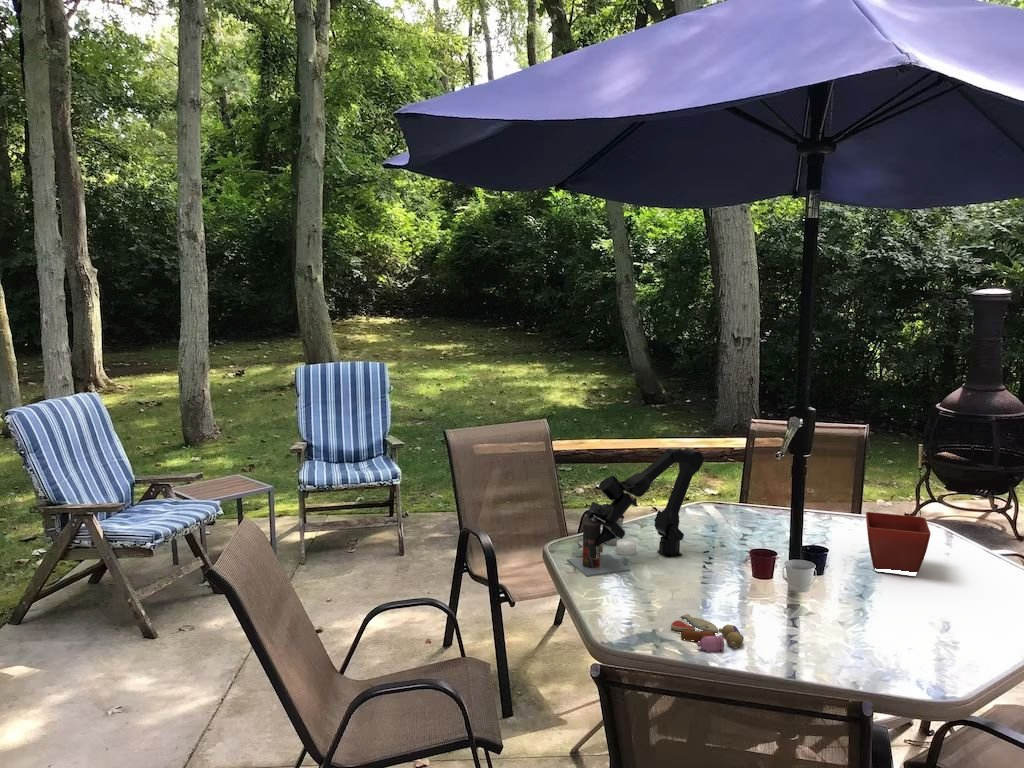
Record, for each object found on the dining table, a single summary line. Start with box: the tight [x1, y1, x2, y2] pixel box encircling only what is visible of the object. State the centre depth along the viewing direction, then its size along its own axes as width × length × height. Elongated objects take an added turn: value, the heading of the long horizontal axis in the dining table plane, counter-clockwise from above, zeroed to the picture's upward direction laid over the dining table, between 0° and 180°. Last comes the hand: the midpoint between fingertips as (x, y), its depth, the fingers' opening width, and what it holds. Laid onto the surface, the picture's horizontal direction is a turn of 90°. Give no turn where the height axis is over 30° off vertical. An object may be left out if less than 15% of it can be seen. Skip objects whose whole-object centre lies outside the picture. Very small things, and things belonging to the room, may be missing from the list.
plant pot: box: [865, 511, 931, 573], centre depth 278 cm, size 19×19×17 cm
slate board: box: [567, 553, 630, 578], centre depth 280 cm, size 16×16×1 cm
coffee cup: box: [603, 514, 625, 546], centre depth 303 cm, size 8×8×12 cm
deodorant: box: [582, 520, 602, 568], centre depth 278 cm, size 6×6×15 cm
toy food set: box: [670, 613, 744, 652], centre depth 225 cm, size 26×16×4 cm, turn 41°
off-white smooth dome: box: [616, 538, 637, 556], centre depth 294 cm, size 7×7×4 cm
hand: (589, 542), depth 278 cm, fingers open, 7 cm apart
